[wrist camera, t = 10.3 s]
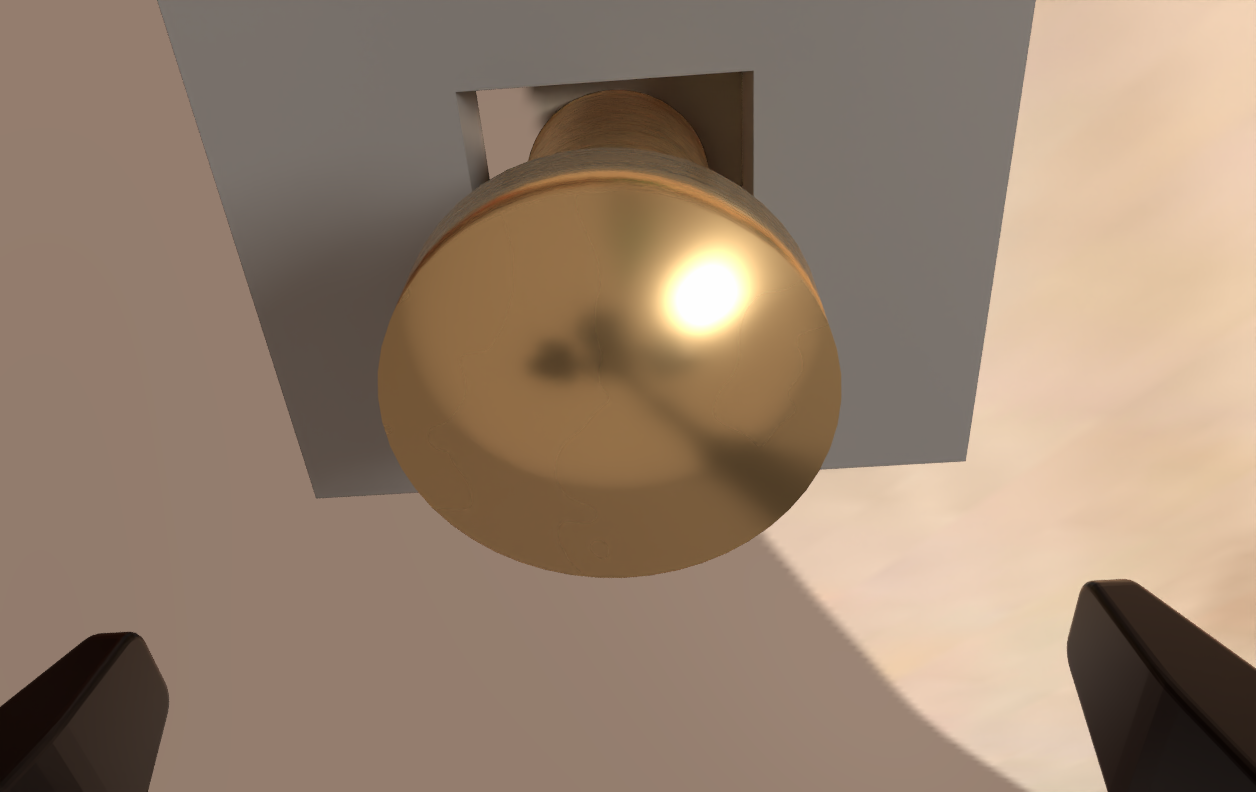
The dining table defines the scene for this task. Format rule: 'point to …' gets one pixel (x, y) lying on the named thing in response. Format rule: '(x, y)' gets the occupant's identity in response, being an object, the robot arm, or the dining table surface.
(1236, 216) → the dining table surface
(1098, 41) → the dining table surface
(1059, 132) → the dining table surface
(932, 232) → the housing plate
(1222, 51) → the dining table surface
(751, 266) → the door knob
